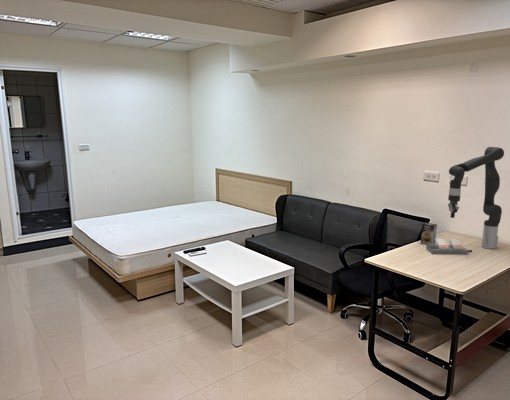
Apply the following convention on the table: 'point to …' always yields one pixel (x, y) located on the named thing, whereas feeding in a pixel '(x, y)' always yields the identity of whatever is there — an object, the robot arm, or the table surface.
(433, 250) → the rocker switch panel
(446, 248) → the block
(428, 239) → the coffee box
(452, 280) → the table surface
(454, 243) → the rocker
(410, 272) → the table surface
